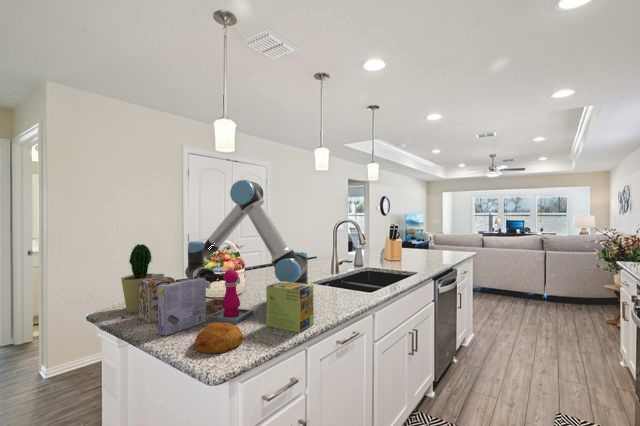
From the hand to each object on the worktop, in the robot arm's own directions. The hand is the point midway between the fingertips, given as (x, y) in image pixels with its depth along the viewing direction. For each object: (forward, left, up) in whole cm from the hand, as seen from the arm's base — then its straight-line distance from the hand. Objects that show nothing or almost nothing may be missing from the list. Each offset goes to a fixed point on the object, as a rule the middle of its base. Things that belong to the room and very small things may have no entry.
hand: (224, 282), depth 140 cm
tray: (-5, +2, -14) cm, 15 cm away
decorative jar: (+25, +10, -14) cm, 31 cm away
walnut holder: (+8, -7, -14) cm, 17 cm away
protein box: (-32, +3, -14) cm, 35 cm away
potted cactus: (+42, +3, -14) cm, 45 cm away
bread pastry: (-16, +28, -14) cm, 35 cm away
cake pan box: (+6, +17, -14) cm, 23 cm away
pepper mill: (-4, +2, -13) cm, 14 cm away
